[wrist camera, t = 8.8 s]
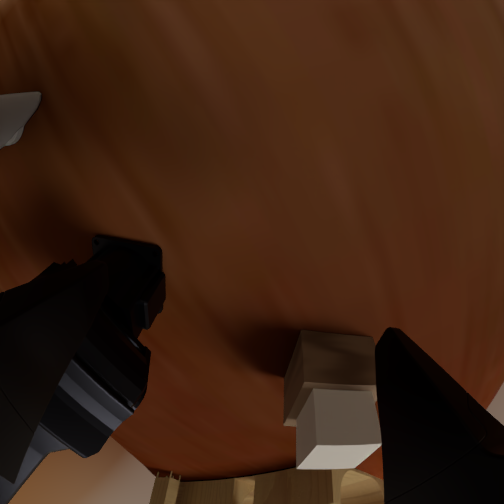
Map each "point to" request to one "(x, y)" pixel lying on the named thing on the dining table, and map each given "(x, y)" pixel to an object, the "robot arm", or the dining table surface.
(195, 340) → the dining table surface
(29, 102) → the tall pale column
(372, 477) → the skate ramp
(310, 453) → the cream block
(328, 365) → the walnut block
